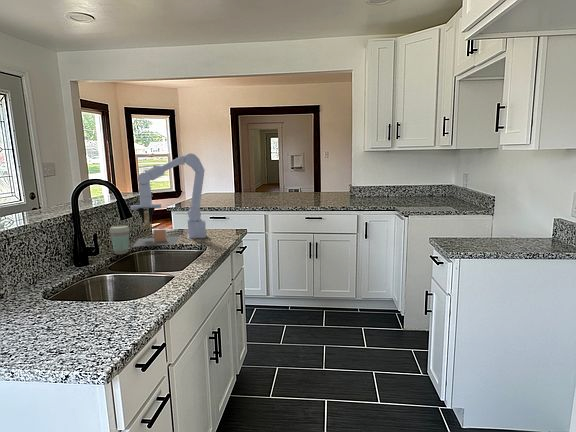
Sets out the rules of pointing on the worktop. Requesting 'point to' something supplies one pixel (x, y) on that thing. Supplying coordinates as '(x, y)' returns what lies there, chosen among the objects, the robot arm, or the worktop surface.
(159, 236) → the tile
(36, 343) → the worktop surface
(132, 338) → the worktop surface
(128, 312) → the worktop surface
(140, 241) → the mat
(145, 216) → the stepped wooden block
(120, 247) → the coffee cup
